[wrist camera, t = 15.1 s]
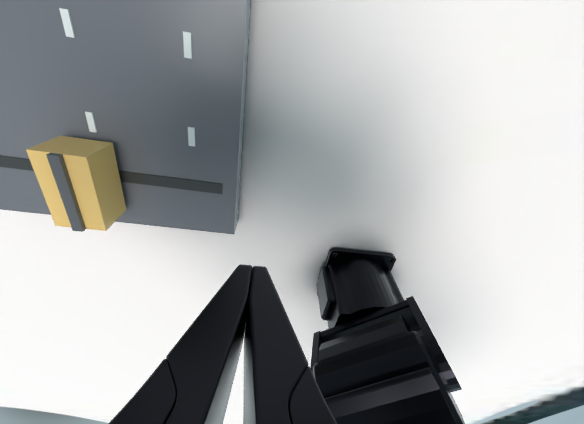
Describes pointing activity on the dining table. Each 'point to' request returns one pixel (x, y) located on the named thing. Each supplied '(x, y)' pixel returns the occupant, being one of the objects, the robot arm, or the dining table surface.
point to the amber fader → (79, 182)
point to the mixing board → (130, 100)
